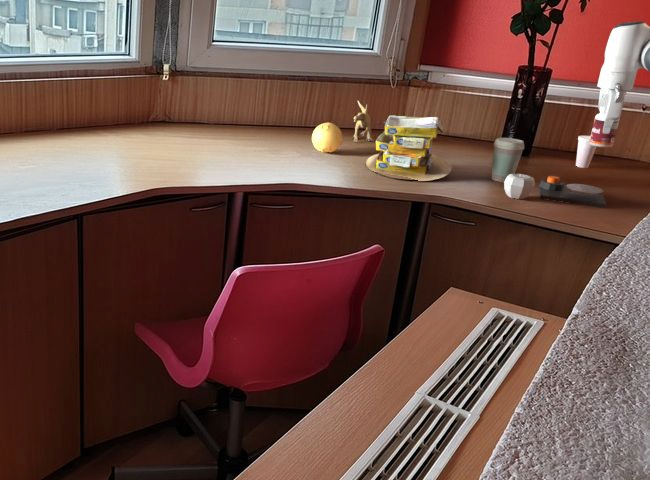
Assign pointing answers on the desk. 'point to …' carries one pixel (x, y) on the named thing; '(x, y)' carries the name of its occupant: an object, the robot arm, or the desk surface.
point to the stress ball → (327, 137)
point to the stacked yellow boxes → (409, 149)
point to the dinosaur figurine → (362, 124)
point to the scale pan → (584, 189)
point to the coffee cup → (506, 157)
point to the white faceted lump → (518, 185)
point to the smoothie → (584, 151)
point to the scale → (568, 195)
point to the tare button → (553, 179)
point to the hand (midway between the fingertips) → (604, 130)
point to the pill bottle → (598, 136)
